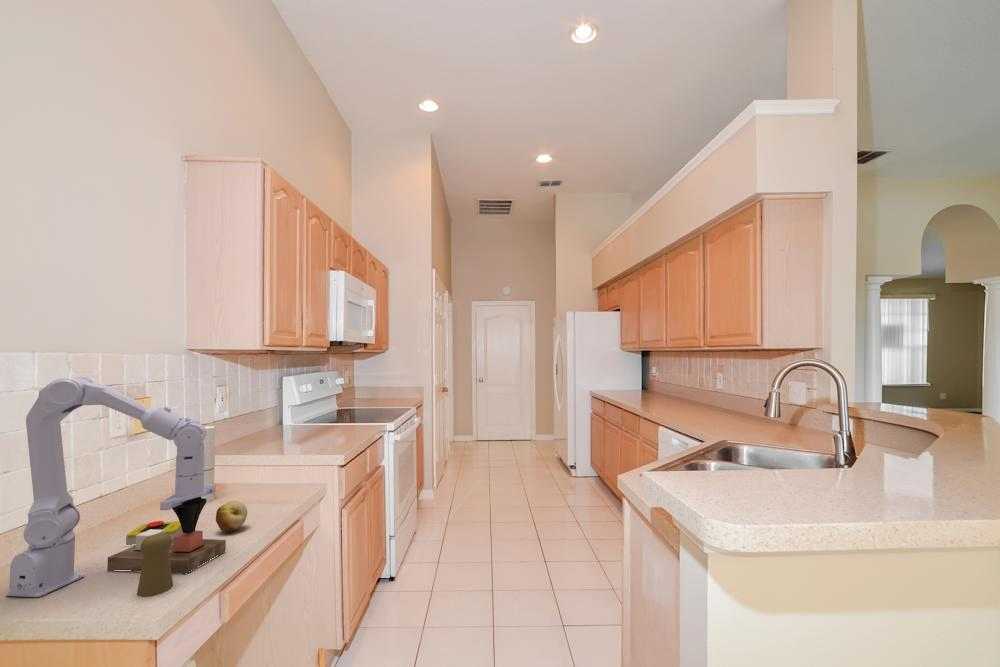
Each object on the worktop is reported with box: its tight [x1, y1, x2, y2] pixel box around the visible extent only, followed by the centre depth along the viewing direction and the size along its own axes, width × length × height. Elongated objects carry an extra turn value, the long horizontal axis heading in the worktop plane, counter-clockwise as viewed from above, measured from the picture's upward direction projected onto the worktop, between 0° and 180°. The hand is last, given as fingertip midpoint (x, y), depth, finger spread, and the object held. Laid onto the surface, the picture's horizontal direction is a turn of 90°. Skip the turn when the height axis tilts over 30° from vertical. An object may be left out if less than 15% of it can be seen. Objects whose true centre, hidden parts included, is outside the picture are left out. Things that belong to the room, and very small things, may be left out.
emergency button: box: [125, 520, 183, 545], centre depth 126 cm, size 9×4×15 cm
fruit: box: [215, 500, 248, 533], centre depth 130 cm, size 8×8×8 cm
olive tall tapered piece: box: [136, 533, 174, 598], centre depth 96 cm, size 6×6×11 cm
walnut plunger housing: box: [106, 538, 227, 574], centre depth 110 cm, size 12×20×3 cm, turn 83°
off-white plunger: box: [134, 529, 165, 550], centre depth 111 cm, size 4×4×3 cm
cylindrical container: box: [201, 425, 216, 504], centre depth 160 cm, size 7×7×25 cm
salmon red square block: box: [174, 530, 204, 552], centre depth 109 cm, size 4×4×3 cm
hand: (188, 532), depth 110 cm, fingers closed
